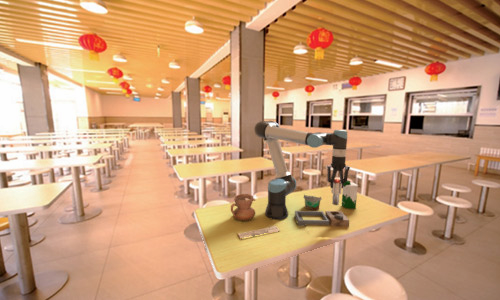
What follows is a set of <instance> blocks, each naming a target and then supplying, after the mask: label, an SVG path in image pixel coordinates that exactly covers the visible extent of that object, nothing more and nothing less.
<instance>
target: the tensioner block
mask: <svg viewBox="0 0 500 300" xmlns="http://www.w3.org/2000/svg"><path fill="white" fill-rule="evenodd" d="M324 214H325V216H326V217H327V218H328V220H329V226H331V227H345V228H348V227H350V220H349V218H348V217H347V215H345V214H344V212H343V211H341V210H340V211H339V210H326V211H325V212H324Z"/></svg>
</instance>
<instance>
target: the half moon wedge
mask: <svg viewBox="0 0 500 300" xmlns="http://www.w3.org/2000/svg"><path fill="white" fill-rule="evenodd" d="M303 194H304V195H303V199H304V207H305V209H307V210H308V211H310V210H311V211H319V209H320V204H321V200H322V197H321V196H319V197H317V196H314V195H306V194H305V193H303Z"/></svg>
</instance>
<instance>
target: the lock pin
mask: <svg viewBox="0 0 500 300" xmlns="http://www.w3.org/2000/svg"><path fill="white" fill-rule="evenodd" d="M334 183H335V189H334V194H333V193H332V205H334V206H339V203H340V194H339V192H340V183H341V182H340V178H339V179H338V178H337V179H336V178H335V179H334Z"/></svg>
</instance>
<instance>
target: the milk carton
mask: <svg viewBox="0 0 500 300" xmlns="http://www.w3.org/2000/svg"><path fill="white" fill-rule="evenodd" d="M358 188H359V184H356V183H355V182H351V180H348V179H347V182H346V183H344V184H343V188H342V191H341V195H342V197H341V207H343V208H344V209H346V210H347V209H349V210H350V209H351V210H352V209H353V210H354V209H355V210H356V209H357V197H358Z"/></svg>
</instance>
